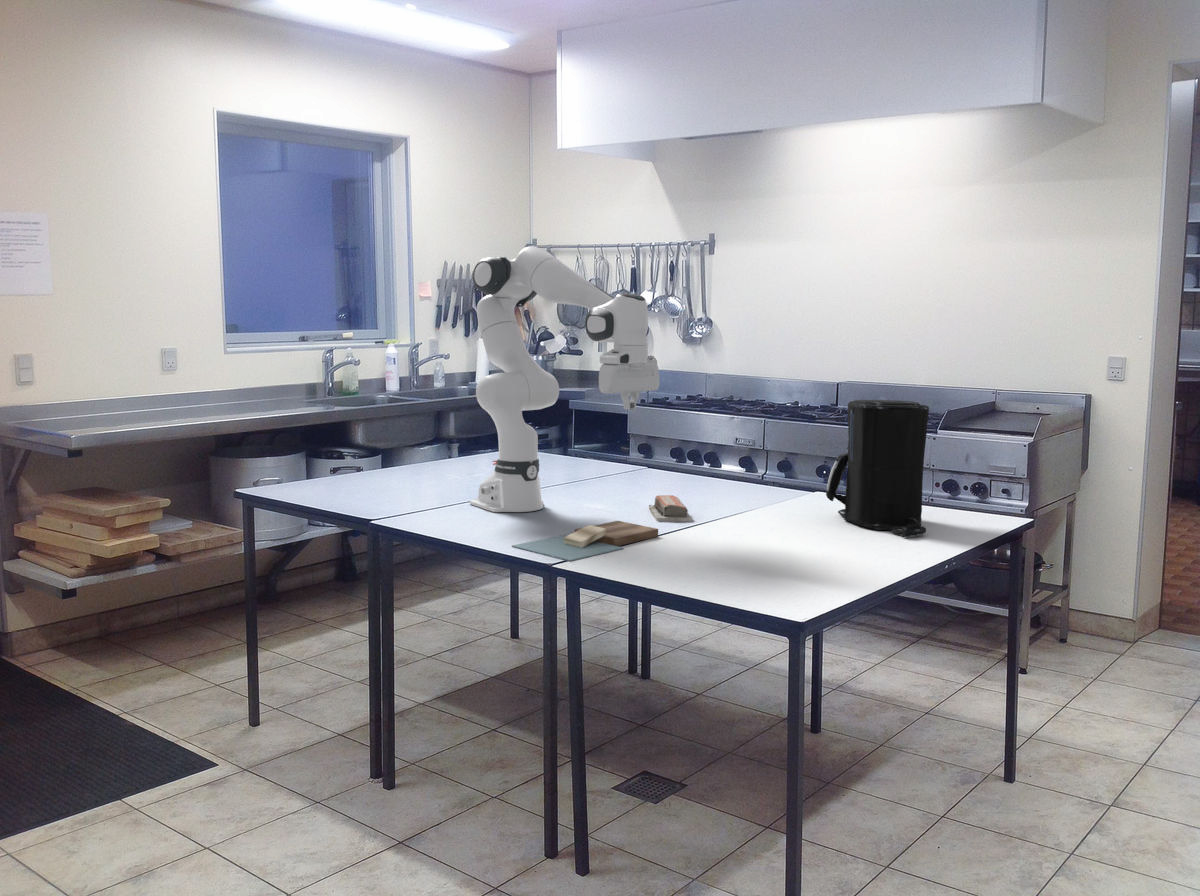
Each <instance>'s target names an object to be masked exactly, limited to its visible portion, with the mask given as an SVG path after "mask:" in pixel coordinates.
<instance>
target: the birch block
mask: <svg viewBox="0 0 1200 896" xmlns="http://www.w3.org/2000/svg"><path fill="white" fill-rule="evenodd" d="M581 528H582V529H580V530H578V531H576V532H574V531H573V532H571V533H570V534H567V535H568V536H566V537H564V538H563V539H564V544H568V545H573V546H577V547H581V548H582V547H584V546H586V545H588V544H590V543H591V542H593V541H595V540H597V539H599V538H601V537H603V536H605V535H606V534H607V531H606V528H601V527H596V526H594V525H591V524H588V525H585V526H583V527H581Z"/></svg>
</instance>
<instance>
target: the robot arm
mask: <svg viewBox="0 0 1200 896" xmlns="http://www.w3.org/2000/svg"><path fill="white" fill-rule="evenodd" d="M472 281H473V284H474V287H475V288H476V289H477V290H478V291H479V292H481V293H483V294H485V296H483V297H481V299H479V301H478V303H477V304H476V305H477V306H476V315H477V322H478V328H479V332H480V336H481V338H482V343H483V346H484V349H485V352H486V356H487V359H488V360H489V361H490V363H491V364H492V365H494V366H496V367H497V368H500V370H502V371H503V372H496V373H492V374H489V375H486V376H483V377H481V378H480V379H479V381H478V383H477V384H476V388H475V396H476V400H477V402H478V404H479V406H480V407H481V408H482V409H483V410H484V411H485V412H487V413H488V415H490V418H491V420H492V421H493V422H494V425H495V428H496V431H497V439H498V459H497V460H492V465H493V466H494V465H495V467H494V472H492V473H491V474H490V475H489V476H487V478H486V479H484V480H483V481H482V482H481V483H480V484H479V486H478V494H477V495H478V498H474V499H471V500H470V501H469V504H470V505H471V506H474V507H477V508H481V509H484V510H486V511H489V512H492V513H526V512H534V511H539V510H541V509H542V510H543V508H544V500H543V498H542V490H541V481H540V476H539V471H540V459H539V458H538V453H539V451H538V446H539V445H538V441H539V440H538V439H539V437H538V433H537V431H536V430H535V428H534V427H533V426H531V425H529V424H528V423H526V422H525V419H524V417H523V412H524V411H535V410H536V411H537V410H542V409H545V408H549V407H551V406H553V405H555V404H556V402H557V401H558V399H559V395H560V385H559V382H558V380H557V379H556V377H555V376H554V375H553V374H551V373H550V372H548V371H547V370H545V369H543V368H542V367H541V366H540V365H539V364H538V363H537V362H536V361H535V359H534V358H533V356H532V355H531V354H530V352H529V351H528V348H527V347H526V344H525V341H524V339H523V336H522V332H521V330H520V327H519V324H518V320H517V318H516V315H515V308H516V307H517V308H522V307H524V306H525V305H526V304H527V303H528V302H530V301H532V300H533V299H534V298H535V297H536V296H537V295H538V296H539V297H541V298H542V299H545V300H546V301H548V302H551V303H554V304H562V305H571V306H578V307H583V308H585V309H588V310H589V311H588V312H587V313H586V316H585V320H584V328H585V332H586V335H587V336H588V338H589V339H590V340H591V341H593V342H598V343H613V348H611V350H608V351H607V352H605V353H602V354H601V355H600V356H599V363H600V364H601V365H600V367H599V370H598V371H599V372H598V390H599V391H600V393H602V394H610V395H611V394H612V395H613V394H620V398H621V401H622V403H623V409H624V410H629V411H630V410H636V408H637V402H638V399H639V398H640V392H650V391H658V390H659V388H660V381H661V380H660V370H659V366H658V360H657V359H656V357H655V356H654V355H648V353H649V352H648V349H649V348H648V347H649V343H648V339H647V333H648V330H649V308H648V303H647V300H646V298H645V297H643V296H642V295H641V294H636V293H629V292H620V293H618V294H616V295H615V297H614V296H612V295H611V294H609V293H608V292H606V291H605V290H603V289H602V288H600V287H599V286H597V285H595V284H593V283H592V282H591V281H589V280H587V279H586V278H584V277H583V276H581V275H580V274H578V273H577V272H575V271H574V270H573V269H571V268H570V267H569V266H567V264H565V263H563V262H562V261H561V260H560V259H558V258H557V257H556V256H554V255H553V254H552V253H549V252H548V251H546V250H544V249H542V248H539V247H538V246H533V245H532V246H526V247H524V248H523V249H521V250H520V251H519V252H518V254H517V255H516V257H515V258H513V259H508V258H507V257H506V256H490V257H485V258H481V259H480V260H479V261H478V262H477V263H476V264H475V266H474V269H473V273H472ZM629 397H630V398H629ZM493 462H494V463H493Z"/></svg>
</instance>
